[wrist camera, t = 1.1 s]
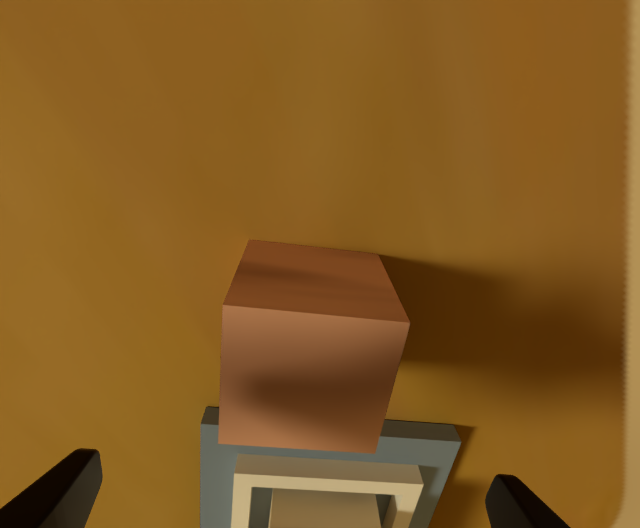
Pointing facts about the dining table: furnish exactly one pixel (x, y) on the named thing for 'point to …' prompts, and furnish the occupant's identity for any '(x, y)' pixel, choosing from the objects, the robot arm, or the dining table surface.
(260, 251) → the top block
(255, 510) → the board
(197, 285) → the dining table surface
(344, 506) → the base block
